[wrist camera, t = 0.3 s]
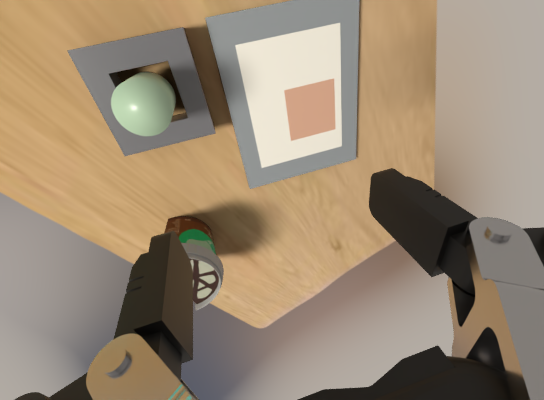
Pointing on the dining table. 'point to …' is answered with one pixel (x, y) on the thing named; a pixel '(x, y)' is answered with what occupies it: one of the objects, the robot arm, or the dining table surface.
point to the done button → (144, 103)
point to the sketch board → (290, 84)
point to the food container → (199, 257)
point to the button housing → (136, 53)
